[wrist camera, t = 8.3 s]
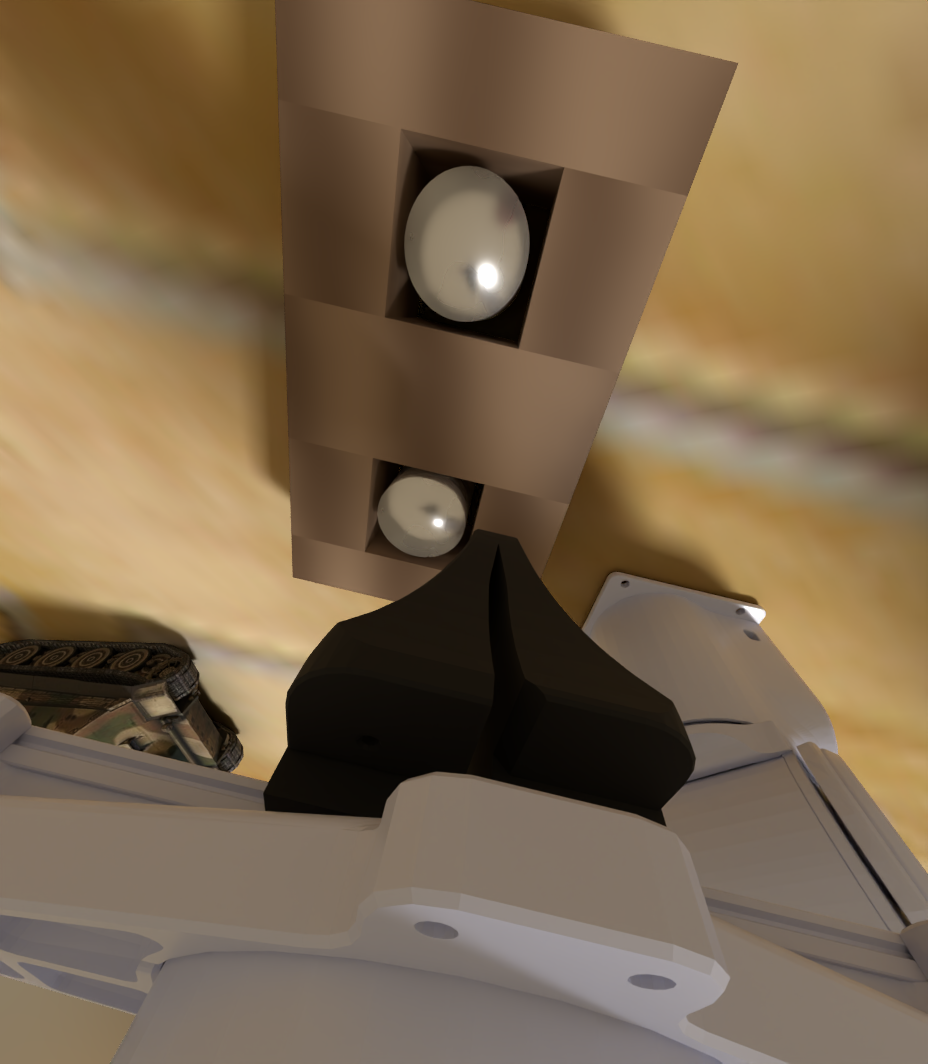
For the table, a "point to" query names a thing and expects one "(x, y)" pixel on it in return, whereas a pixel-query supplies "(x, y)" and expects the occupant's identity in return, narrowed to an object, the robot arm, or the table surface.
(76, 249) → the table surface
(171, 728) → the model tank
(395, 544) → the peg
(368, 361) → the walnut block
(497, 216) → the peg
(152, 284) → the table surface
